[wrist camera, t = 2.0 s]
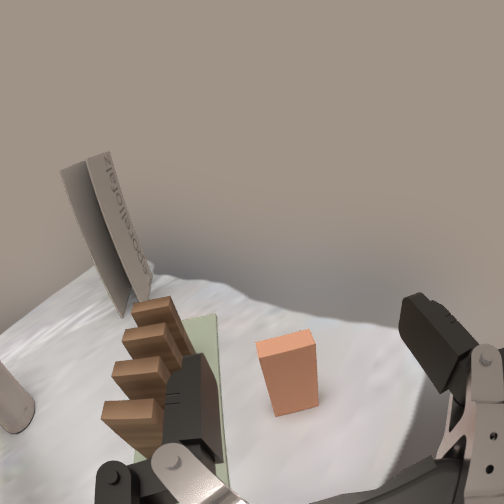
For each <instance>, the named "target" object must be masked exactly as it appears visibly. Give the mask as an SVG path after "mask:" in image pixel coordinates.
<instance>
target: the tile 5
mask: <svg viewBox="0 0 504 504" xmlns="http://www.w3.org/2000/svg"><path fill="white" fill-rule="evenodd" d="M131 314H132V316H133V318H134V320H135V322H136V324H137V326H138V327H143V326H148V325H154V324H159V323H166V325H167V327H168V329H169V331H170V333H171V335H172V337H173V339H174V341H175V343H176V345H177V347H178V349H179V351H180V353H181V354H182V356H186V355H192V354H196V352H195V350H194V348H193V346H192V343H191V341H190V339H189V337H188V335H187V333H186V331H185V328H184V326H183V324H182V322H181V319H180V317H179V315H178V313H177V310H176V308H175V306H174V303H173V301H172V299H171V296H167V297H162V298H158V299H153V300H148V301H143V302H139V303H134V305H133V308H132V311H131Z"/></svg>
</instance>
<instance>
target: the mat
mask: <svg viewBox="0 0 504 504" xmlns="http://www.w3.org/2000/svg"><path fill="white" fill-rule="evenodd" d="M181 322H182V324H183V326H184V328H185V331H186V333H187V335H188V337H189V339H190V341H191V343H192V346H193V348H194V350H195V352H196V354H197V353H203V354H204V355H205V357H206V359H207V361H208V363H209V366H210V368H211V370H212V372H213V374H214V376H215V378H216V382H217V386H218V394H219V409H220V423H221V436H222V448H223V459H224V463H221V464H215V467H216V475H217V476H218V477H219V478H220V479H221V480H222V481H223V482H224V483H225V484H226V485H228V486H229V478H228V468H227V458H226V448H225V437H224V426H223V414H222V401H221V387H220V372H219V355H218V336H217V316H216V314H212V315H207V316H202V317H197V318H192V319H187V320H182V321H181ZM146 459H147V458H145V457H144V456H143V455H141V454H140V453H139V452H138V451H136V450H135V454H134V463H137V462H140V461H144V460H146ZM229 487H230V486H229ZM177 504H180V503H177Z"/></svg>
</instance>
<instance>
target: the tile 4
mask: <svg viewBox="0 0 504 504" xmlns="http://www.w3.org/2000/svg"><path fill="white" fill-rule="evenodd" d="M122 343H123V345H124V346H125V348H126V349H127V351H128V352H129V354H130V356H131V357H132V359H133V360H134V359H142V358H149V357H156V356H160V357H161V359H162V361H163V362H164V364H165V366H166V367H167V369H168V371H169V372H170V374H172V372H173V371H179V370H182V358H183V356H182V354H181V353H180V351H179V349H178V347H177V345H176V343H175V341H174V339H173V337H172V335H171V333H170V331H169V329H168V327H167V325H166V323H159V324H154V325H148V326H143V327H137V328H131V329H125V332H124V335H123V339H122Z"/></svg>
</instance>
